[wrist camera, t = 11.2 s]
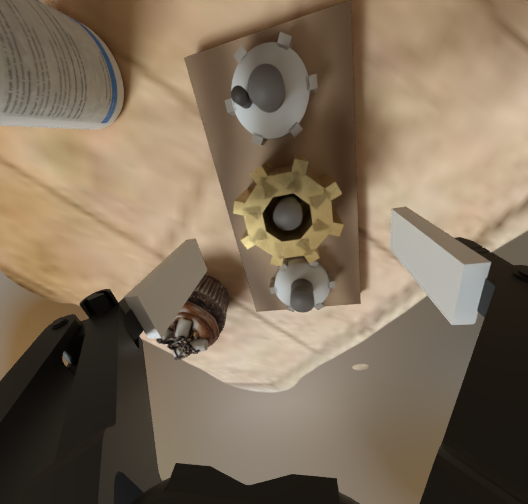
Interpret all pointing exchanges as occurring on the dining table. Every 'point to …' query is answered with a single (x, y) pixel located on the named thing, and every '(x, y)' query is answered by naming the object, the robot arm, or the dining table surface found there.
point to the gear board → (287, 144)
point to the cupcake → (198, 320)
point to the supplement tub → (54, 70)
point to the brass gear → (313, 220)
